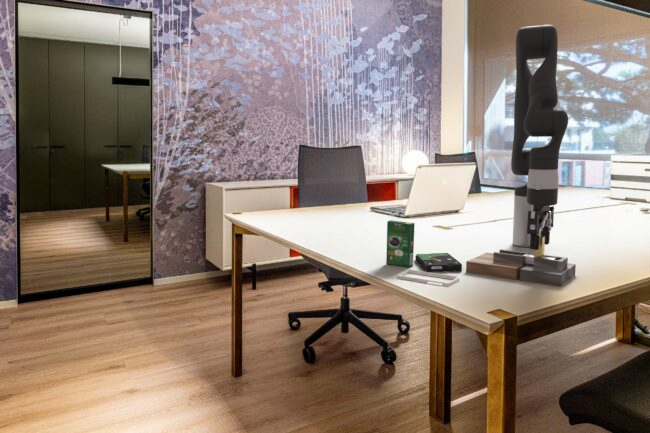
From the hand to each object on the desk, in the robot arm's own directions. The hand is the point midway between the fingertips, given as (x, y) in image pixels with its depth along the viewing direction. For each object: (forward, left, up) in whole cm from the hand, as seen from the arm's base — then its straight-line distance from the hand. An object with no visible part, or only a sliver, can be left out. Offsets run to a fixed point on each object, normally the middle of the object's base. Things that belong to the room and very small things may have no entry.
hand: (539, 246), depth 141 cm
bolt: (0, 0, -5) cm, 5 cm away
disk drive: (+5, -27, -9) cm, 29 cm away
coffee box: (+11, -37, -8) cm, 39 cm away
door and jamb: (0, -5, -8) cm, 10 cm away
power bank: (+20, -23, -9) cm, 31 cm away
